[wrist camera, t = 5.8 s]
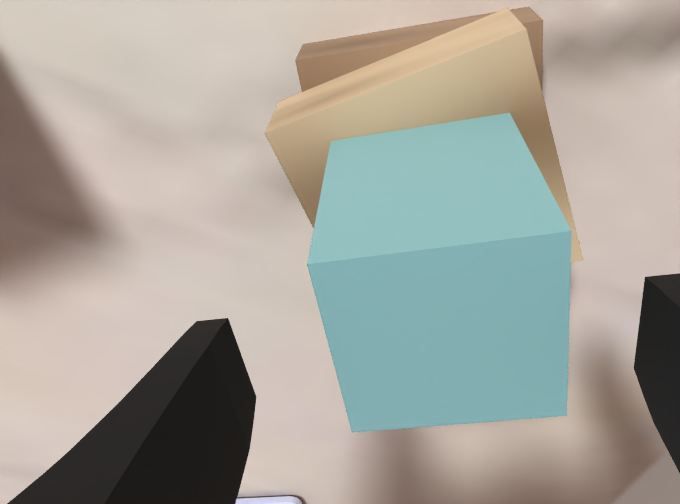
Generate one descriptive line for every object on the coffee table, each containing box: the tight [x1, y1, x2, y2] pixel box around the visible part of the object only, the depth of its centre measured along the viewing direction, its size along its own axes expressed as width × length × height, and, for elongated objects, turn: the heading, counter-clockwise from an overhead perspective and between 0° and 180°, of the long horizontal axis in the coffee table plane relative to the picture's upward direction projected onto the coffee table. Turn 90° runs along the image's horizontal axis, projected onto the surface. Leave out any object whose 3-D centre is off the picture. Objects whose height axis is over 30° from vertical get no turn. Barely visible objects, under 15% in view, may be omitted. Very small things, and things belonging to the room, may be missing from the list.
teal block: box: [307, 113, 572, 432], centre depth 12 cm, size 4×4×5 cm
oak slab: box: [265, 8, 583, 263], centre depth 15 cm, size 6×6×2 cm
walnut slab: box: [295, 7, 543, 92], centre depth 17 cm, size 6×6×2 cm
